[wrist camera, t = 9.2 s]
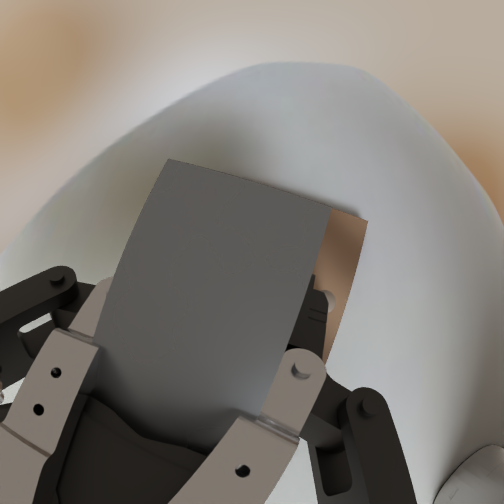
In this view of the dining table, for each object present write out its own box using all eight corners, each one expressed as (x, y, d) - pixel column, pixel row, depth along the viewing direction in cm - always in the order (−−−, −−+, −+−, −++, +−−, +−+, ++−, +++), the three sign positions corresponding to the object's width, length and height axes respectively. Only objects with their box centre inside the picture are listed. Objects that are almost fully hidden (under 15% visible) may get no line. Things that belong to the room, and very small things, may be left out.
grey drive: (250, 382, 14) (226, 485, 4) (188, 358, 14) (76, 408, 4) (290, 276, 15) (333, 200, 5) (228, 254, 15) (171, 153, 6)
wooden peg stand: (280, 455, 15) (282, 486, 11) (133, 397, 16) (103, 412, 12) (362, 226, 18) (384, 203, 14) (216, 179, 20) (204, 147, 16)
